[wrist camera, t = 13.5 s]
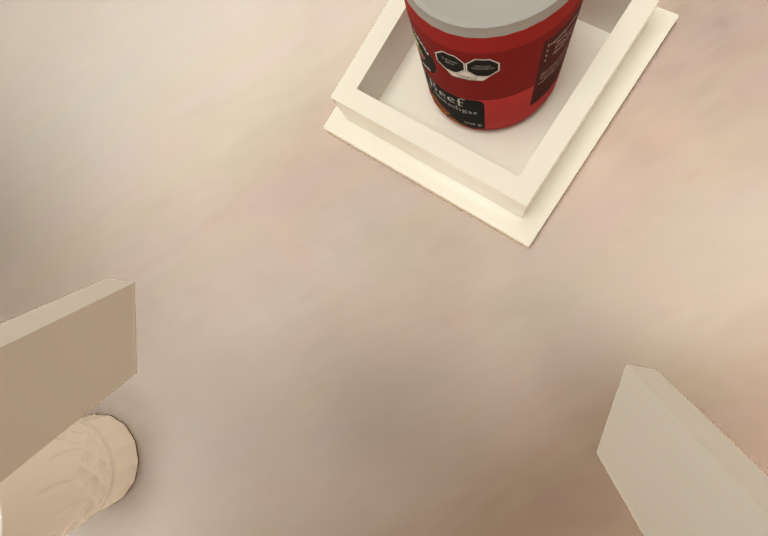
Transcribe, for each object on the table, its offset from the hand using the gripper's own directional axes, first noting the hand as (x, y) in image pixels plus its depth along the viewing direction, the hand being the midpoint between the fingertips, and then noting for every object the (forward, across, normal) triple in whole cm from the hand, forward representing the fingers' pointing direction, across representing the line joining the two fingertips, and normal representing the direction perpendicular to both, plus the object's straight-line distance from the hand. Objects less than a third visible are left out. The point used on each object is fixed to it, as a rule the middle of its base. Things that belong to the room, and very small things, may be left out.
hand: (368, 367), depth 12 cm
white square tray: (+21, +4, +10) cm, 24 cm away
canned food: (+20, +4, +10) cm, 23 cm away
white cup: (+16, -20, -21) cm, 33 cm away
